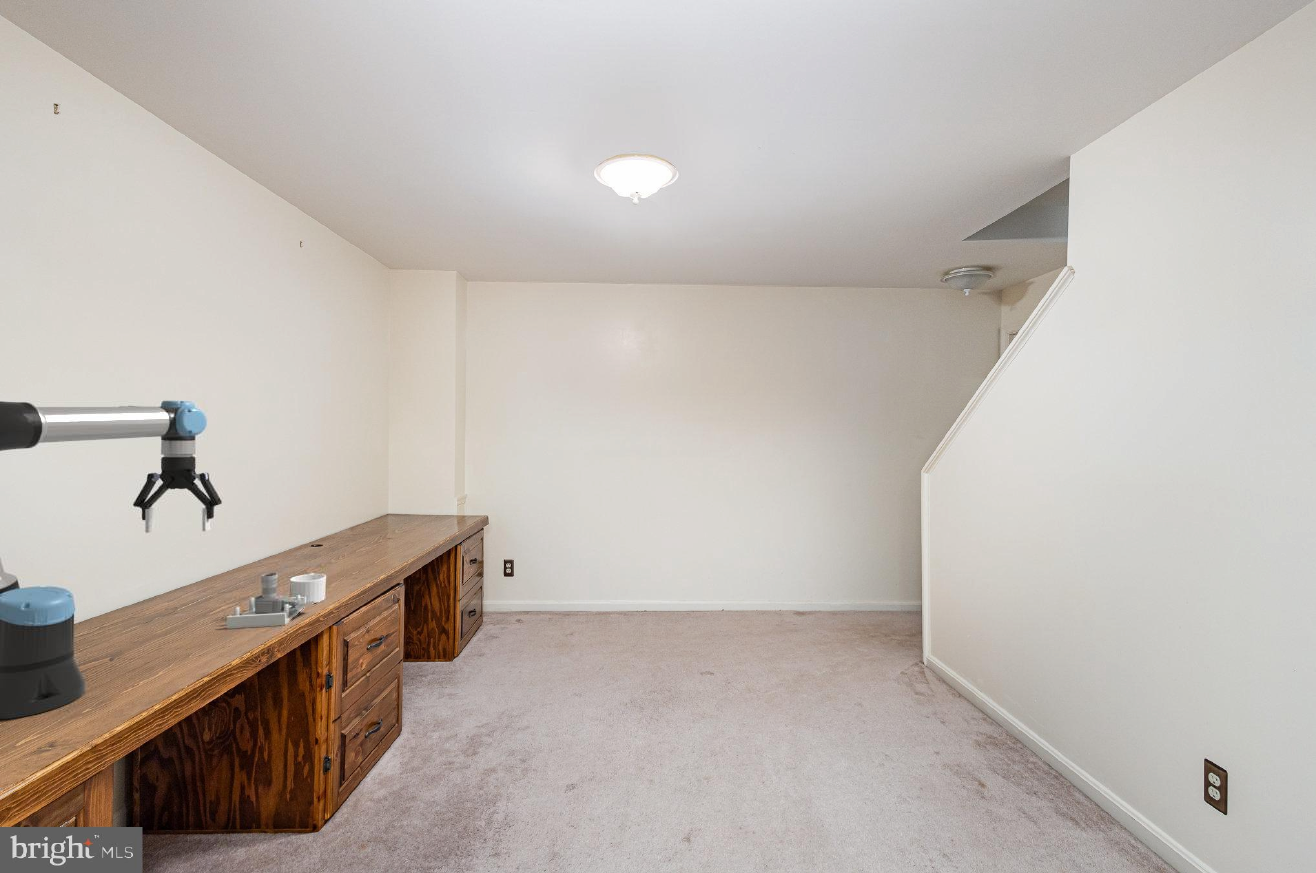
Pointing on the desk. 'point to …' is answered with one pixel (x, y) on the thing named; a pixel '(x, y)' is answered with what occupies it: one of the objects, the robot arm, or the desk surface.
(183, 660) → the desk surface
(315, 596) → the mug
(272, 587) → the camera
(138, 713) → the desk surface
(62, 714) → the desk surface
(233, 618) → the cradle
